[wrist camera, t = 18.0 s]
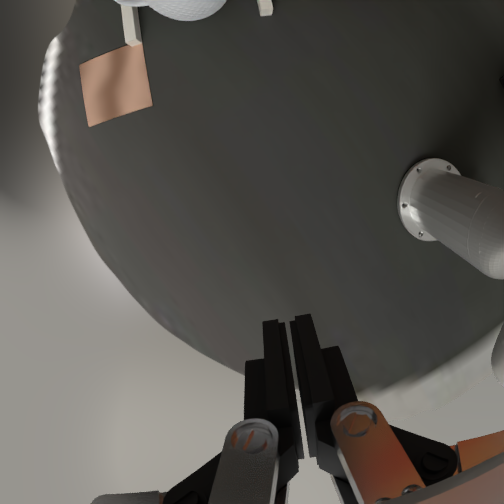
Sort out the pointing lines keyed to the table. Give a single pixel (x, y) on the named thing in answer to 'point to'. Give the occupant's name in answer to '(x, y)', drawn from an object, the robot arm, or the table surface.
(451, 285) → the table surface
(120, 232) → the table surface
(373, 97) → the table surface
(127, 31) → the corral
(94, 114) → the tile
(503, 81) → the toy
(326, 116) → the table surface
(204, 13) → the mug
